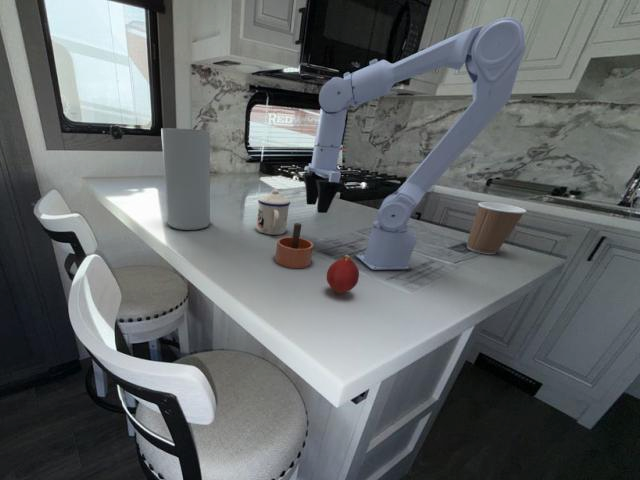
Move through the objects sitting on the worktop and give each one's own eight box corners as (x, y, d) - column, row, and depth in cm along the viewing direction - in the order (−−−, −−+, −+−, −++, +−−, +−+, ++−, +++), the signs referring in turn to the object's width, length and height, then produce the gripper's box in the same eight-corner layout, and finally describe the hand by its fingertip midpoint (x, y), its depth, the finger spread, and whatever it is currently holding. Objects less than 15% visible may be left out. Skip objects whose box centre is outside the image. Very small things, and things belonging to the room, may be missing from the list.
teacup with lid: (254, 225, 95) (257, 186, 89) (283, 226, 95) (288, 187, 89) (258, 238, 84) (261, 195, 78) (290, 239, 85) (296, 196, 79)
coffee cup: (511, 255, 83) (535, 210, 77) (487, 258, 80) (510, 212, 74) (475, 242, 92) (494, 201, 85) (451, 245, 88) (469, 202, 82)
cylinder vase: (175, 233, 85) (169, 130, 72) (162, 220, 94) (155, 127, 81) (216, 228, 90) (217, 132, 77) (200, 217, 99) (199, 129, 87)
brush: (298, 257, 73) (303, 222, 69) (301, 261, 71) (307, 225, 67) (283, 257, 73) (288, 222, 68) (286, 261, 70) (291, 225, 66)
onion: (331, 283, 63) (339, 246, 59) (358, 292, 60) (369, 254, 56) (318, 293, 59) (326, 254, 55) (346, 304, 56) (357, 264, 52)
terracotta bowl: (303, 254, 76) (306, 236, 74) (315, 268, 69) (318, 249, 67) (271, 254, 75) (273, 236, 73) (280, 268, 68) (282, 249, 66)
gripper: (299, 142, 73) (291, 200, 80) (322, 148, 61) (310, 216, 68) (327, 144, 74) (317, 201, 81) (355, 149, 62) (340, 216, 69)
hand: (316, 208), depth 75 cm, fingers open, 7 cm apart
